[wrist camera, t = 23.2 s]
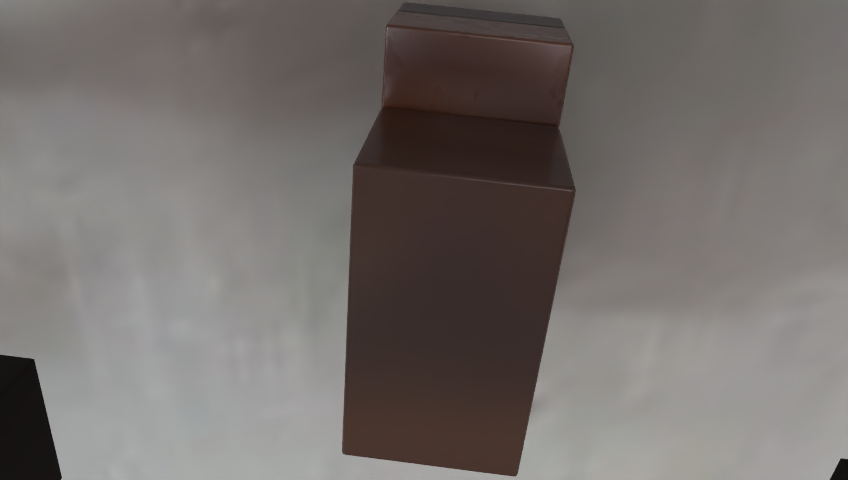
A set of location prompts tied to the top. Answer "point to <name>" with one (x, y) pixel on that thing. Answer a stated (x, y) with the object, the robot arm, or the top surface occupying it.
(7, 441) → the robot arm
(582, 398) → the top surface
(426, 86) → the brown stepped block
